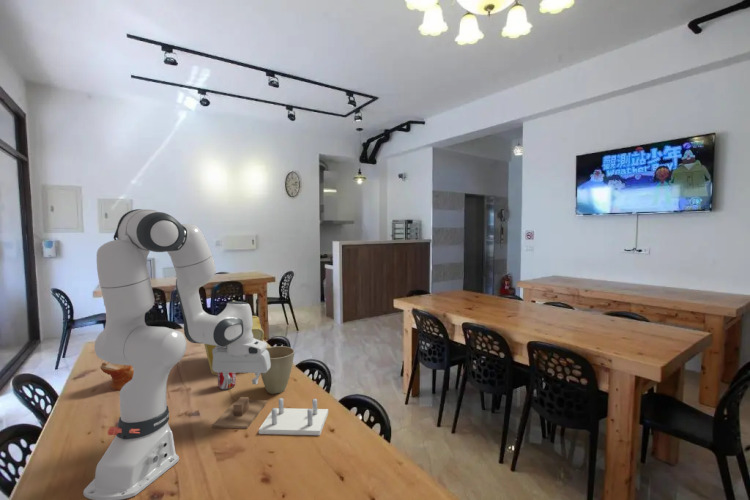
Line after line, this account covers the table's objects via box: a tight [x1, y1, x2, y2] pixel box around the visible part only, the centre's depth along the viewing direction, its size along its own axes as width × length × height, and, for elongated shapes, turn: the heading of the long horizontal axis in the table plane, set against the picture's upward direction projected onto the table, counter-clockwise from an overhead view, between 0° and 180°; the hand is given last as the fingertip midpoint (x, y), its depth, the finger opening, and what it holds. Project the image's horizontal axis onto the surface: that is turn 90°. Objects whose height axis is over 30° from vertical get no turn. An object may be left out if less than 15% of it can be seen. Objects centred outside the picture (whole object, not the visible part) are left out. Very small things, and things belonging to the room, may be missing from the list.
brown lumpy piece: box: [100, 360, 134, 391], centre depth 158 cm, size 14×26×15 cm, turn 152°
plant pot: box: [260, 345, 295, 395], centre depth 148 cm, size 15×15×16 cm
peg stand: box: [258, 397, 329, 436], centre depth 122 cm, size 20×14×6 cm
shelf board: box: [211, 396, 268, 430], centre depth 129 cm, size 18×12×6 cm, turn 176°
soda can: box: [217, 372, 237, 390], centre depth 151 cm, size 7×7×12 cm
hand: (242, 383), depth 129 cm, fingers open, 8 cm apart
